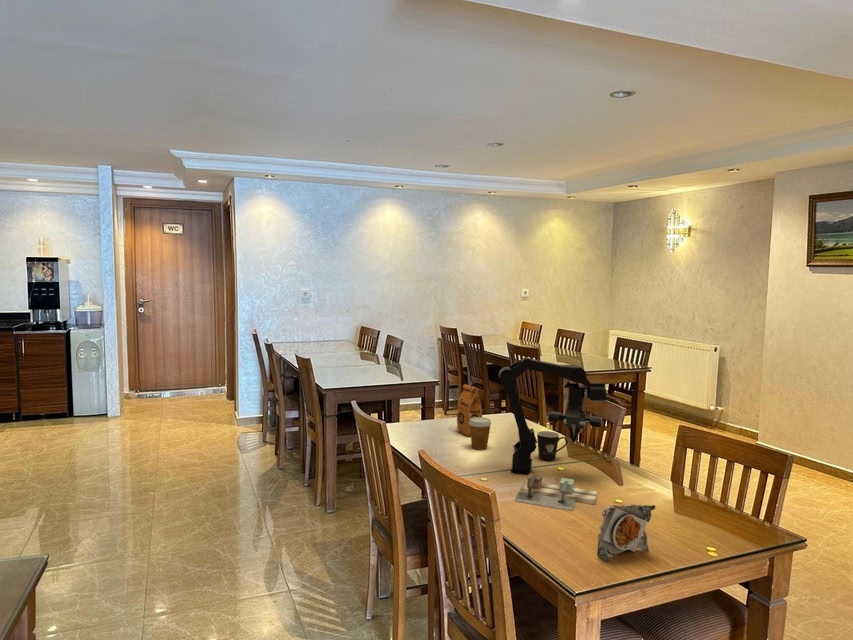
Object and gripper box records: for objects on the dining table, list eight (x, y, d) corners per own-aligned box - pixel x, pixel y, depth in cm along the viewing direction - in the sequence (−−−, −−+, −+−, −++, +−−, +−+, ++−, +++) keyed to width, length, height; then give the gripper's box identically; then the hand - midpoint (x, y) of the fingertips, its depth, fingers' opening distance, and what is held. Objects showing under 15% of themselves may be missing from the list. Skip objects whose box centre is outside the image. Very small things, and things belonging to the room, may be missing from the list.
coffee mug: (534, 460, 221) (535, 435, 221) (538, 454, 229) (539, 430, 229) (564, 464, 217) (565, 439, 216) (567, 458, 225) (568, 433, 224)
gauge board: (516, 498, 182) (517, 483, 182) (524, 484, 195) (525, 470, 195) (593, 511, 174) (594, 496, 173) (596, 495, 186) (597, 481, 186)
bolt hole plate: (515, 501, 180) (515, 497, 180) (518, 494, 186) (519, 491, 186) (572, 510, 174) (572, 507, 173) (574, 503, 179) (574, 500, 179)
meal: (608, 564, 141) (610, 513, 140) (596, 556, 145) (599, 507, 144) (653, 554, 147) (656, 505, 146) (641, 546, 151) (643, 499, 150)
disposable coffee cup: (494, 447, 237) (495, 419, 236) (484, 452, 229) (485, 423, 228) (474, 443, 242) (475, 415, 241) (463, 448, 234) (464, 420, 233)
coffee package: (464, 438, 250) (466, 389, 248) (454, 430, 261) (455, 384, 260) (485, 436, 253) (486, 388, 251) (474, 429, 265) (475, 383, 263)
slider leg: (556, 499, 178) (556, 490, 177) (561, 487, 189) (561, 477, 189) (569, 502, 176) (569, 492, 176) (573, 489, 187) (574, 479, 187)
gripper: (546, 401, 200) (544, 444, 202) (601, 407, 194) (598, 451, 195) (551, 396, 211) (549, 436, 212) (603, 401, 204) (601, 443, 205)
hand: (573, 442), depth 206 cm, fingers closed
